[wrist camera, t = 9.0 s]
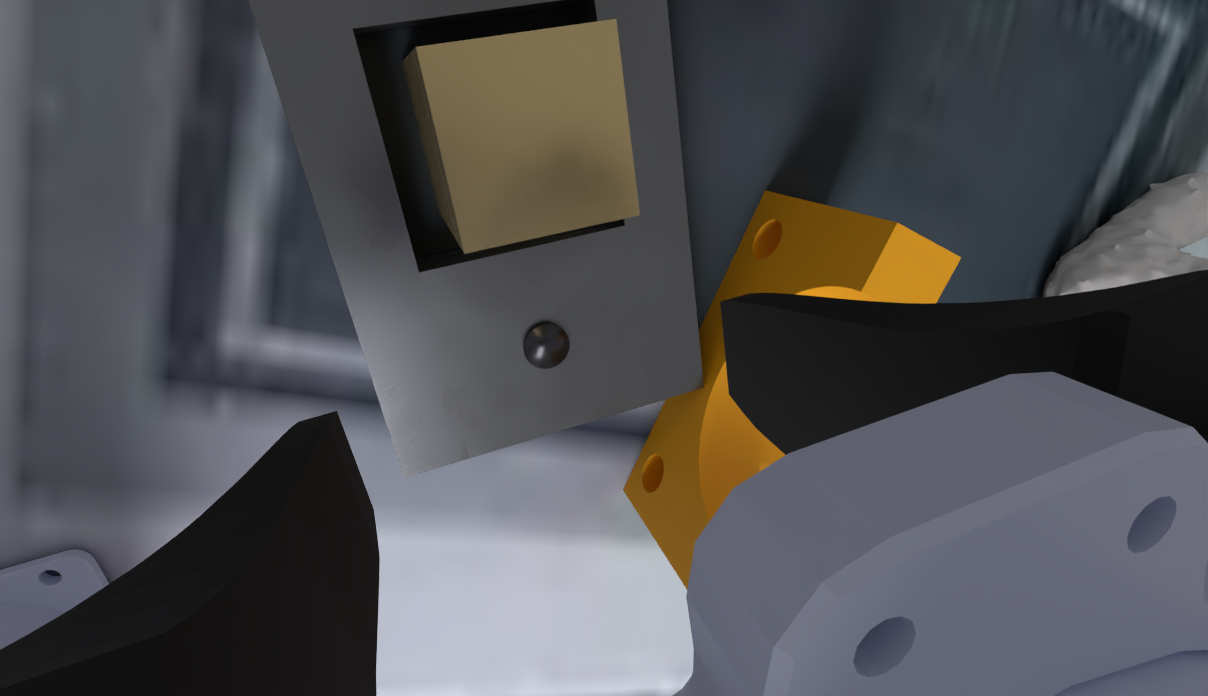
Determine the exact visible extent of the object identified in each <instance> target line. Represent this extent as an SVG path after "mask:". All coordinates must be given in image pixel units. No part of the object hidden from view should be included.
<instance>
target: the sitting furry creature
mask: <svg viewBox="0 0 1208 696" xmlns="http://www.w3.org/2000/svg"><path fill="white" fill-rule="evenodd" d="M1207 235H1208V173H1202V172H1200V173H1191V174H1185V175H1182V176H1178V177H1175V178H1173V179H1171V180H1168V181H1166V182H1164V183H1154V184H1150V185H1149V191H1148V192H1147V193H1146V194H1145V195H1143V196H1142V197H1140V198H1139V199H1137V200H1135V201H1134V202H1132V203H1131V204H1130V205H1129V206H1127V207H1126V208H1125V209H1123V210H1122V211H1120V212H1119V213H1117V214H1114V215H1112V217H1111V218H1110V220H1109V221H1108V222H1106V223H1105V224H1104V225H1102V226H1101V227H1099V228H1097V229H1096V230H1095V231H1094V232H1093V233H1091V234H1090V235H1089V238H1088V239H1087V240H1085V241H1084V242H1082V243H1081V244H1079V245H1078V246H1076V247H1075V248H1073V249H1072V250H1071V251H1069V252H1068V253H1066V254H1064V255H1063V256H1061V257H1060V259H1059V261H1057V262H1056V264H1055V266H1054V269H1053V271H1052V272H1051V273H1050V274H1049V275H1048V278H1047V281H1046V283H1045V286H1044V290H1043V294H1042V297H1050V296H1059V295H1066V294H1073V293H1080V292H1087V291H1094V290H1101V289H1107V288H1113V287H1119V286H1124V285H1129V284H1134V283H1139V282H1144V281H1149V280H1154V279H1159V278H1164V277H1169V276H1174V275H1179V274H1184V273H1190V272H1195V271H1200V270H1208V259H1207V258H1199V257H1196V256H1192V255H1191V254H1190V253H1182V251H1180V250H1178V249H1180V248H1183V247H1185V246H1188V245H1190V244H1192V243H1194V242H1196V241H1199V240H1201V239H1203V238H1205V237H1206V236H1207Z"/></svg>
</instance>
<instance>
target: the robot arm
mask: <svg viewBox="0 0 1208 696" xmlns="http://www.w3.org/2000/svg"><path fill="white" fill-rule="evenodd" d="M720 305H721V316H722V326H723V337H724V348H725V358H726V369H727V380H728V390H729V395H730V397H731V398H732V399H733V400H734V402H735V403H736V404H737V406H738V407H739V408H740V409H741V411H742V412H743V413H744V415H745V416H746V417H747V418H748V419H749V420H750V422H751V423H752V424H753V425H754V426H755V427H756V429H758V430H759V431H760V432H761V433H762V434H763V435H764V436H765V437H766V438H767V439H768V440H769V441H771V442H772V443H773V444H774V445H775V446H776V447H777V448H778V449H779V450H781V451H782V452H783V453H784V454H785V456H784V457H782V458H780V459H779V460H777V461H776V462H774V463H772V464H771V465H769V466H768V467H766V468H765V469H763V470H761V471H760V472H758V473H757V474H755V475H753V476H752V477H750V478H749V479H747V480H745V481H744V482H742V483H741V484H739V485H737V486H736V487H734V488H733V489H732V490H731V492H730V493H729V495H728V496H727V498H726V499H725V500H724V502H723V503H722V505H721V506H720V507H719V509H718V510H717V512H716V513H715V514H714V516H713V517H712V519H711V520H710V521H709V523H708V524H707V526H706V527H705V529H704V530H703V531H702V533H701V534H700V536H699V537H698V538H697V540H696V541H695V545H694V552H693V558H692V564H691V571H690V577H689V583H688V590H687V596H686V597H687V604H688V611H689V618H690V625H691V632H692V638H693V645H694V665H693V674H692V676H691V677H690V679H689V680H688V682H687V683H686V685H685V686H684V687H683V688H682V689H681V690H680V691H678V692H677V693H676V694H674V695H673V696H1208V270H1200V271H1195V272H1190V273H1184V274H1179V275H1174V276H1169V277H1164V278H1159V279H1154V280H1149V281H1144V282H1139V283H1134V284H1129V285H1124V286H1119V287H1113V288H1107V289H1101V290H1094V291H1087V292H1080V293H1073V294H1066V295H1059V296H1050V297H1041V298H1032V299H1020V300H1008V301H995V302H978V303H927V304H922V303H894V302H876V301H862V300H850V299H839V298H828V297H818V296H808V295H796V294H784V293H750V294H745V295H742V296H738V297H735V298H731V299H728V300H724V301H721V302H720ZM45 570H54V571H57V572H59V573H60V574H61V576H51V575H49V574H47V573H46V572H45ZM378 597H379V549H378V540H377V531H376V524H375V516H374V509H373V507H372V504H371V501H370V499H369V496H368V493H367V491H366V488H365V485H364V483H363V480H362V477H361V475H360V472H359V469H358V467H357V464H356V461H355V459H354V456H353V453H352V451H351V448H350V445H349V443H348V440H347V437H346V435H345V432H344V429H343V427H342V424H341V421H340V419H339V416H338V413H337V411H335V412H331V413H328V414H324V415H321V416H317V417H314V418H310V419H307V420H303V421H300V422H298V423H296V424H295V425H294V426H292V427H291V428H290V429H289V430H288V431H287V432H286V433H285V434H284V435H283V436H282V437H281V438H280V439H279V440H278V441H277V442H276V443H275V444H274V445H273V446H272V447H271V448H270V449H269V450H268V451H267V452H266V453H265V454H264V455H263V456H262V457H261V458H260V459H259V460H258V461H257V462H256V463H255V464H254V465H253V467H252V468H251V469H250V470H249V471H248V472H247V473H246V474H245V475H244V476H243V477H242V478H241V479H240V480H239V481H238V482H236V483H235V484H234V485H233V486H232V487H231V488H230V489H229V490H228V491H227V492H226V493H225V494H224V495H222V496H221V497H220V498H219V499H218V500H217V501H216V502H215V503H214V504H213V505H212V506H211V507H210V508H208V509H207V510H206V511H205V512H204V513H203V514H202V515H201V516H200V517H199V518H197V519H196V520H195V521H194V522H193V523H192V524H190V525H189V526H188V527H187V528H185V529H184V530H183V531H182V532H181V533H179V534H178V535H177V536H176V537H174V538H173V539H172V540H170V541H169V542H168V543H167V544H165V545H164V546H163V547H161V548H160V549H159V550H157V551H156V552H155V553H153V554H152V555H151V556H149V557H148V558H147V559H145V560H144V561H143V562H141V563H140V564H138V565H137V566H136V567H134V568H133V569H131V570H130V571H128V572H127V573H125V574H124V575H122V576H121V577H119V578H118V579H116V580H114V581H113V582H111V583H110V584H109V582H108V580H107V579H106V577H105V575H104V574H103V572H102V570H101V569H100V567H99V565H98V564H97V562H96V560H95V559H94V557H93V556H92V555H91V554H90V553H88V552H85V551H83V550H76V549H74V550H67V551H63V552H60V553H57V554H53V555H50V556H46V557H43V558H39V559H36V560H33V561H29V562H26V563H22V564H19V565H15V566H12V567H9V568H5V569H2V570H0V696H376V654H377V625H378Z"/></svg>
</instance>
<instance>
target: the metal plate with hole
mask: <svg viewBox="0 0 1208 696" xmlns="http://www.w3.org/2000/svg"><path fill="white" fill-rule="evenodd" d="M248 1H249V4H250V7H251V10H252V13H253V16H254V19H255V22H256V25H257V28H258V31H259V34H260V37H261V40H262V43H263V47H264V50H265V53H266V56H267V59H268V62H269V65H270V68H271V71H272V74H273V77H274V80H275V83H276V86H277V90H278V93H279V96H280V99H281V102H282V105H283V108H284V111H285V114H286V117H287V120H288V123H289V126H290V129H291V133H292V136H293V139H294V142H295V145H296V148H297V151H298V154H299V157H300V160H301V163H302V166H303V169H304V172H305V175H306V179H307V182H308V185H309V188H310V191H311V194H312V197H313V200H314V203H315V206H316V209H317V212H318V215H319V218H320V222H321V225H322V228H323V231H324V234H325V237H326V240H327V243H328V246H329V249H330V252H331V255H332V258H333V261H334V264H335V268H336V271H337V274H338V277H339V280H340V283H341V286H342V289H343V292H344V295H345V298H346V301H347V304H348V307H349V311H350V314H351V317H352V320H353V323H354V326H355V329H356V332H357V335H358V338H359V341H360V344H361V347H362V350H363V354H364V357H365V360H366V363H367V366H368V369H369V372H370V375H371V378H372V381H373V384H374V387H375V390H376V393H377V396H378V400H379V403H380V406H381V409H382V412H383V415H384V418H385V421H386V424H387V427H388V430H389V433H390V436H391V439H392V443H393V446H394V449H395V452H396V455H397V458H398V461H399V464H400V467H401V470H402V473H403V476H404V478H405V477H408V476H412V475H415V474H418V473H422V472H425V471H428V470H432V469H435V468H438V467H442V466H445V465H448V464H452V463H455V462H458V461H462V460H465V459H468V458H472V457H475V456H478V455H481V454H485V453H488V452H491V451H495V450H498V449H501V448H505V447H508V446H511V445H515V444H518V443H521V442H525V441H528V440H531V439H535V438H538V437H541V436H545V435H548V434H551V433H555V432H558V431H561V430H565V429H568V428H571V427H575V426H578V425H581V424H585V423H588V422H591V421H594V420H598V419H601V418H604V417H608V416H611V415H614V414H618V413H621V412H624V411H628V410H631V409H634V408H638V407H641V406H644V405H648V404H651V403H654V402H658V401H661V400H664V399H668V398H671V397H674V396H678V395H681V394H684V393H688V392H691V391H694V390H697V389H701V388H704V383H703V373H702V362H701V352H700V341H699V331H698V320H697V310H696V299H695V289H694V278H693V268H692V257H691V247H690V236H689V226H688V215H687V205H686V194H685V184H684V173H683V163H682V153H681V142H680V132H679V121H678V111H677V100H676V90H675V79H674V69H673V58H672V48H671V37H670V27H669V16H668V6H667V0H248ZM573 4H574V5H575V12H576V18H577V24H582V23H590V22H597V21H604V20H611V19H616V21H617V29H618V37H619V45H620V54H621V62H622V70H623V79H624V87H625V95H626V104H627V112H628V120H629V128H630V137H631V145H632V153H633V162H634V170H635V178H636V186H637V195H638V203H639V211H640V215H639V216H634V217H630V218H625V219H621V220H616V221H611V222H607V223H602V224H598V225H593V226H589V227H584V228H580V229H575V230H570V231H566V232H561V233H557V234H552V235H548V236H543V237H539V238H534V239H530V240H525V241H520V242H516V243H511V244H507V245H502V246H498V247H493V248H489V249H484V250H480V251H475V252H470V253H466V254H464V252H463V250H462V249H461V248H457V249H453V250H448V251H444V252H439V253H435V254H430V255H426V256H421V257H417V258H415V256H414V252H413V248H412V245H411V241H410V237H409V234H408V230H407V226H406V223H405V219H404V215H403V212H402V208H401V204H400V201H399V197H398V193H397V190H396V186H395V182H394V179H393V175H392V171H391V168H390V164H389V160H388V157H387V153H386V149H385V146H384V142H383V138H382V135H381V131H380V127H379V124H378V120H377V116H376V113H375V109H374V105H373V102H372V98H371V94H370V91H369V87H368V83H367V80H366V76H365V72H364V69H363V65H362V61H361V58H360V54H359V50H358V47H357V43H356V39H355V36H354V35H357V34H364V33H371V32H378V31H385V30H393V29H400V28H407V27H414V26H421V25H429V24H436V23H443V22H450V21H458V20H465V19H472V18H479V17H486V16H494V15H501V14H508V13H515V12H522V11H530V10H537V9H544V8H551V7H558V6H566V5H573Z"/></svg>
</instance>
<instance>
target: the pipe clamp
mask: <svg viewBox="0 0 1208 696" xmlns="http://www.w3.org/2000/svg"><path fill="white" fill-rule="evenodd" d="M960 259H961V257H959V256H957V255H956V254H954V253H952V252H950V251H948V250H946V249H945V248H943V247H941V246H939V245H937V244H936V243H934V242H932V241H930V240H928V239H926V238H925V237H923V236H921V235H919V234H917V233H915V232H914V231H912V230H910V229H908V228H906V227H904V226H903V225H901V224H899V223H897V222H893V221H889V220H884V219H880V218H876V217H872V216H868V215H864V214H860V213H856V212H852V211H848V210H844V209H839V208H835V207H831V206H827V205H823V204H819V203H815V202H811V201H807V200H803V199H799V198H794V197H790V196H786V195H782V194H778V193H774V192H770V191H766V190H765V192H764V194H763V196H762V198H761V201H760V203H759V205H758V207H757V209H756V211H755V213H754V215H753V217H752V220H751V222H750V224H749V226H748V228H747V230H746V232H745V234H744V236H743V239H742V241H741V243H740V245H739V247H738V249H737V251H736V253H735V255H734V258H733V260H732V262H731V264H730V266H729V268H728V270H727V272H726V274H725V276H724V279H723V281H722V283H721V285H720V287H719V289H718V291H717V293H716V295H715V298H714V300H713V302H712V304H711V306H710V308H709V310H708V312H707V314H706V317H705V319H704V321H703V323H702V325H701V327H700V329H699V341H700V352H701V362H702V373H703V383H704V388H701V389H697V390H694V391H691V392H688V393H684V394H681V395H678V396H674V397H671V398H668V399H666V401H665V403H664V405H663V407H662V409H661V411H660V414H659V416H658V418H657V420H656V422H655V424H654V426H653V428H652V430H651V433H650V435H649V437H648V439H647V441H646V443H645V445H644V447H643V449H642V451H641V454H640V456H639V458H638V460H637V462H636V464H635V466H634V468H633V470H632V473H631V475H630V477H629V479H628V481H627V483H626V485H625V487H624V489H623V490H624V492H625V494H626V495H627V497H628V498H629V500H630V501H631V503H632V504H633V506H634V508H635V509H636V511H637V512H638V514H639V515H640V517H641V518H642V520H643V522H644V523H645V525H646V526H647V528H648V529H649V531H650V533H651V534H652V536H653V537H654V539H655V540H656V542H657V543H658V545H659V547H660V548H661V550H662V551H663V553H664V554H665V556H666V557H667V559H668V561H669V562H670V564H671V565H672V567H673V568H674V570H675V571H676V573H677V575H678V576H679V578H680V579H681V581H682V582H683V584H684V586H685V587H686V589H687V590H688V583H689V577H690V571H691V564H692V558H693V552H694V545H695V541H696V540H697V538H698V537H699V536H700V534H701V533H702V531H703V530H704V529H705V527H706V526H707V524H708V523H709V521H710V520H711V519H712V517H713V516H714V514H715V513H716V512H717V510H718V509H719V507H720V506H721V505H722V503H723V502H724V500H725V499H726V498H727V496H728V495H729V493H730V492H731V490H732V489H733V488H734V487H736V486H737V485H739V484H741V483H742V482H744V481H745V480H747V479H749V478H750V477H752V476H753V475H755V474H757V473H758V472H760V471H761V470H763V469H765V468H766V467H768V466H769V465H771V464H772V463H774V462H776V461H777V460H779V459H780V458H782V457H784V456H785V454H784V453H783V452H782V451H781V450H779V449H778V448H777V447H776V446H775V445H774V444H773V443H772V442H771V441H769V440H768V439H767V438H766V437H765V436H764V435H763V434H762V433H761V432H760V431H759V430H758V429H756V427H755V426H754V425H753V424H752V423H751V422H750V420H749V419H748V418H747V417H746V416H745V415H744V413H743V412H742V411H741V409H740V408H739V407H738V406H737V404H736V403H735V402H734V400H733V399H732V398H731V397H730V395H729V390H728V380H727V369H726V358H725V348H724V337H723V326H722V316H721V305H720V302H721V301H724V300H728V299H731V298H735V297H738V296H742V295H745V294H750V293H784V294H796V295H808V296H818V297H828V298H839V299H850V300H862V301H876V302H894V303H922V304H927V303H936V302H937V300H938V299H939V297H940V295H941V293H942V291H943V290H944V288H945V286H946V284H947V282H948V281H949V279H950V277H951V275H952V273H953V271H954V270H955V268H956V266H957V264H958V262H959V261H960Z"/></svg>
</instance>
